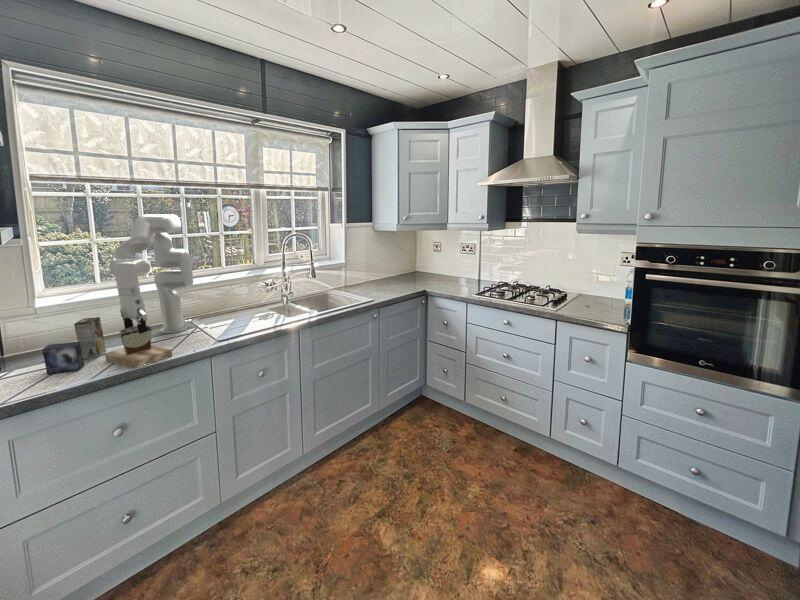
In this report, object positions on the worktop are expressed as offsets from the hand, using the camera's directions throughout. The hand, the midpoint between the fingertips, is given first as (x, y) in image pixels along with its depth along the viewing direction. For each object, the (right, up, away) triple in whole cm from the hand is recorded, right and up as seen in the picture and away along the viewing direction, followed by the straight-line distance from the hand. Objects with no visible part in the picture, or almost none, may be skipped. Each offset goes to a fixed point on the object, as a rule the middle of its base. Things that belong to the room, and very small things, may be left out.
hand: (136, 330), depth 169 cm
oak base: (0, -12, +2) cm, 12 cm away
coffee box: (-22, -11, +6) cm, 26 cm away
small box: (-21, -15, -10) cm, 28 cm away
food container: (-1, -9, +2) cm, 9 cm away
